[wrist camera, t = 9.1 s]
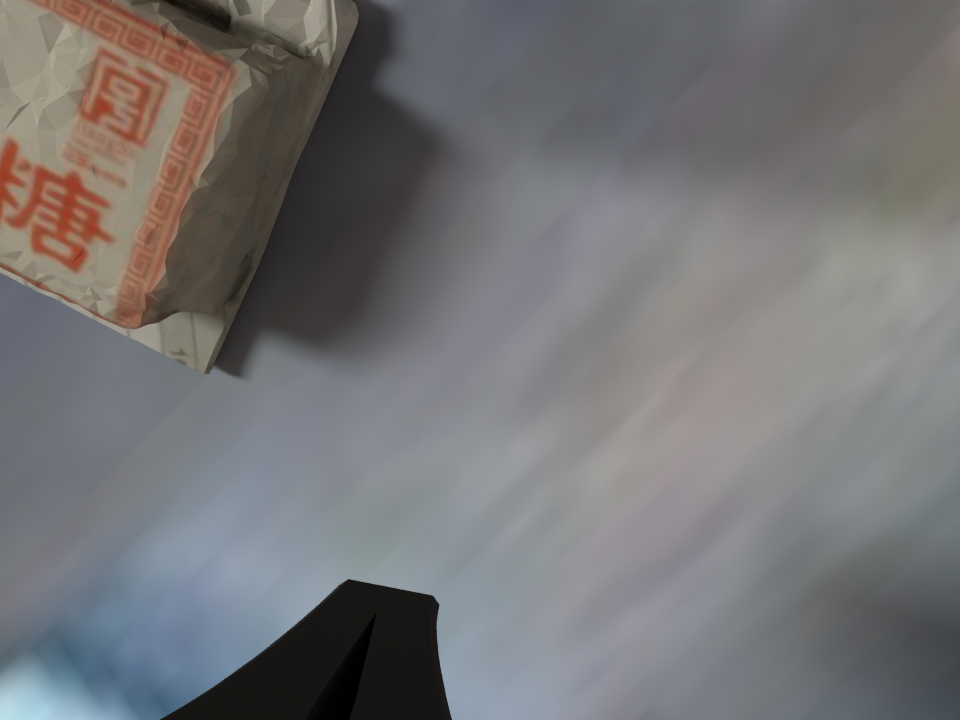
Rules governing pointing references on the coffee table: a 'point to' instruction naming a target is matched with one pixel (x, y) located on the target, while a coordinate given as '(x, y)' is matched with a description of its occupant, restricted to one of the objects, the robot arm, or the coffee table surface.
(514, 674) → the coffee table surface
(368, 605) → the robot arm
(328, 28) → the packaged product
